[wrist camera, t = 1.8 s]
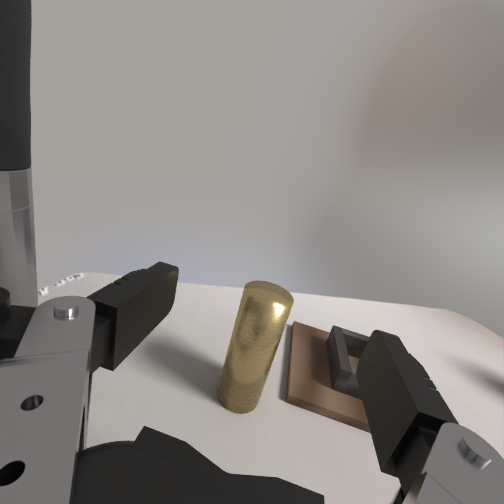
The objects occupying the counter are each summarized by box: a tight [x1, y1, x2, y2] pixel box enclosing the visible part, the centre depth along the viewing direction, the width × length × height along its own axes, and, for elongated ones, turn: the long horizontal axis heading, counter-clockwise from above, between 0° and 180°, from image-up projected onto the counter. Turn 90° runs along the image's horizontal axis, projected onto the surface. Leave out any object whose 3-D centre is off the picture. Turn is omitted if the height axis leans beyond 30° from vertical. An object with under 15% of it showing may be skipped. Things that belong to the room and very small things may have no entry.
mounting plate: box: [286, 321, 371, 433], centre depth 32 cm, size 18×14×4 cm
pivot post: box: [217, 281, 294, 414], centre depth 24 cm, size 4×4×12 cm
